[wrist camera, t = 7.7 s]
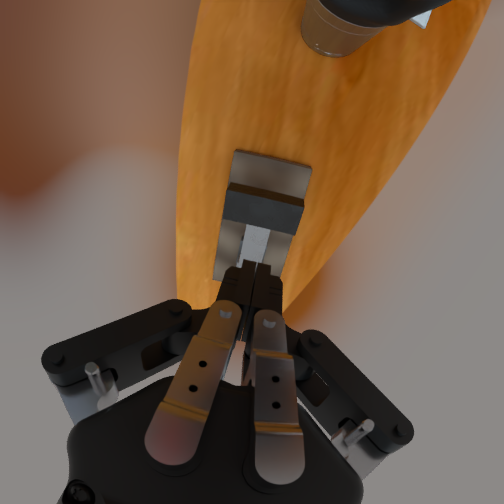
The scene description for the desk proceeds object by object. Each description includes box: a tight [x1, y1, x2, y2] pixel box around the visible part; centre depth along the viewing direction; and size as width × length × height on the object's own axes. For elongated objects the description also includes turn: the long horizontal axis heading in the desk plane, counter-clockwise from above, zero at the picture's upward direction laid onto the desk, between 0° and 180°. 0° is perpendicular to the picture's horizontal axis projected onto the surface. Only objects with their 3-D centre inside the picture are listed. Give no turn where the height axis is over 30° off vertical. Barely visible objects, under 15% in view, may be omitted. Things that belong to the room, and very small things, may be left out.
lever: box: [222, 182, 304, 271], centre depth 39 cm, size 21×9×4 cm, turn 169°
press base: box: [212, 149, 312, 282], centre depth 42 cm, size 24×12×11 cm, turn 168°
